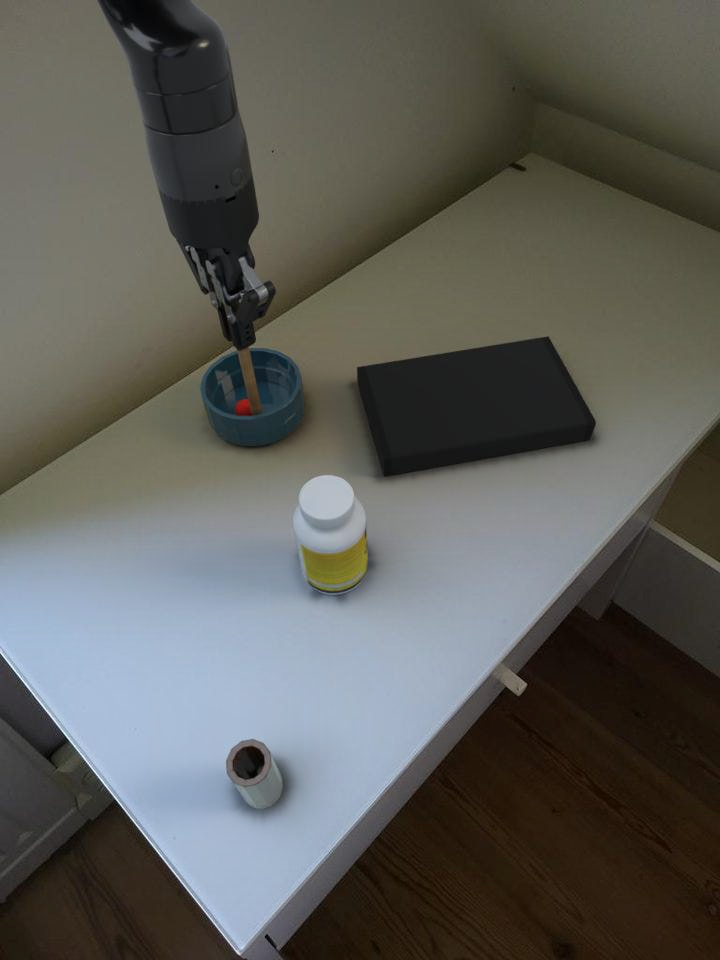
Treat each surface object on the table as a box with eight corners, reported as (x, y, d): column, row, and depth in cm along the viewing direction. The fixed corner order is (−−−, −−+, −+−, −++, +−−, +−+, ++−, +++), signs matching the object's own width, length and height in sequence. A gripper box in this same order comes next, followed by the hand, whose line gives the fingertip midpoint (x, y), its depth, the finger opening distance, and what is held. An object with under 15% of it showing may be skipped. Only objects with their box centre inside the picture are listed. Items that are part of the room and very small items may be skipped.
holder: (272, 815, 53) (259, 793, 48) (235, 800, 54) (218, 776, 49) (289, 774, 55) (278, 748, 50) (253, 760, 56) (238, 733, 50)
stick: (260, 421, 76) (234, 304, 63) (250, 418, 76) (223, 301, 63) (264, 413, 77) (240, 296, 64) (255, 411, 77) (229, 293, 64)
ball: (252, 427, 77) (248, 412, 75) (233, 422, 78) (229, 407, 76) (261, 412, 79) (258, 397, 77) (242, 407, 79) (239, 392, 77)
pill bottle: (373, 591, 65) (371, 522, 56) (305, 602, 64) (292, 535, 55) (362, 534, 69) (358, 461, 60) (298, 544, 68) (284, 472, 59)
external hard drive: (357, 384, 82) (356, 366, 79) (543, 354, 84) (548, 335, 81) (383, 477, 73) (383, 459, 71) (590, 440, 75) (597, 422, 73)
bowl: (281, 460, 75) (275, 429, 71) (192, 435, 77) (182, 404, 74) (319, 391, 81) (316, 360, 77) (236, 370, 84) (229, 339, 80)
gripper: (120, 155, 56) (172, 323, 70) (208, 226, 49) (247, 396, 63) (199, 124, 59) (235, 292, 72) (292, 188, 52) (312, 359, 66)
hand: (240, 340), depth 68 cm, fingers closed on stick, 1 cm apart
